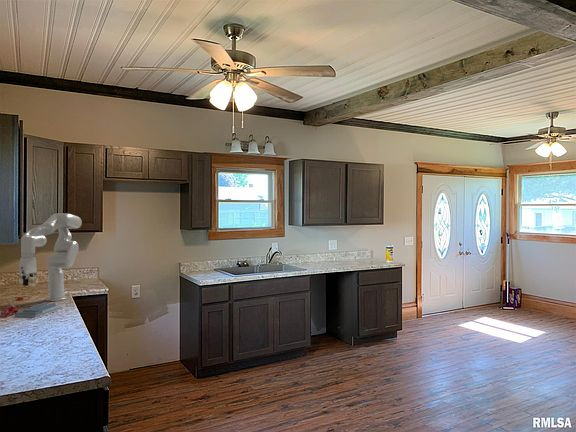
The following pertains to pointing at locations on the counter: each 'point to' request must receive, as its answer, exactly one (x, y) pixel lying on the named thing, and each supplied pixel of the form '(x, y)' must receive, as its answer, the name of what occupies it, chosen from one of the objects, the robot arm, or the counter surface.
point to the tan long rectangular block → (29, 281)
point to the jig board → (38, 310)
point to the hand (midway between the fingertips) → (28, 284)
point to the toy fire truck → (13, 309)
